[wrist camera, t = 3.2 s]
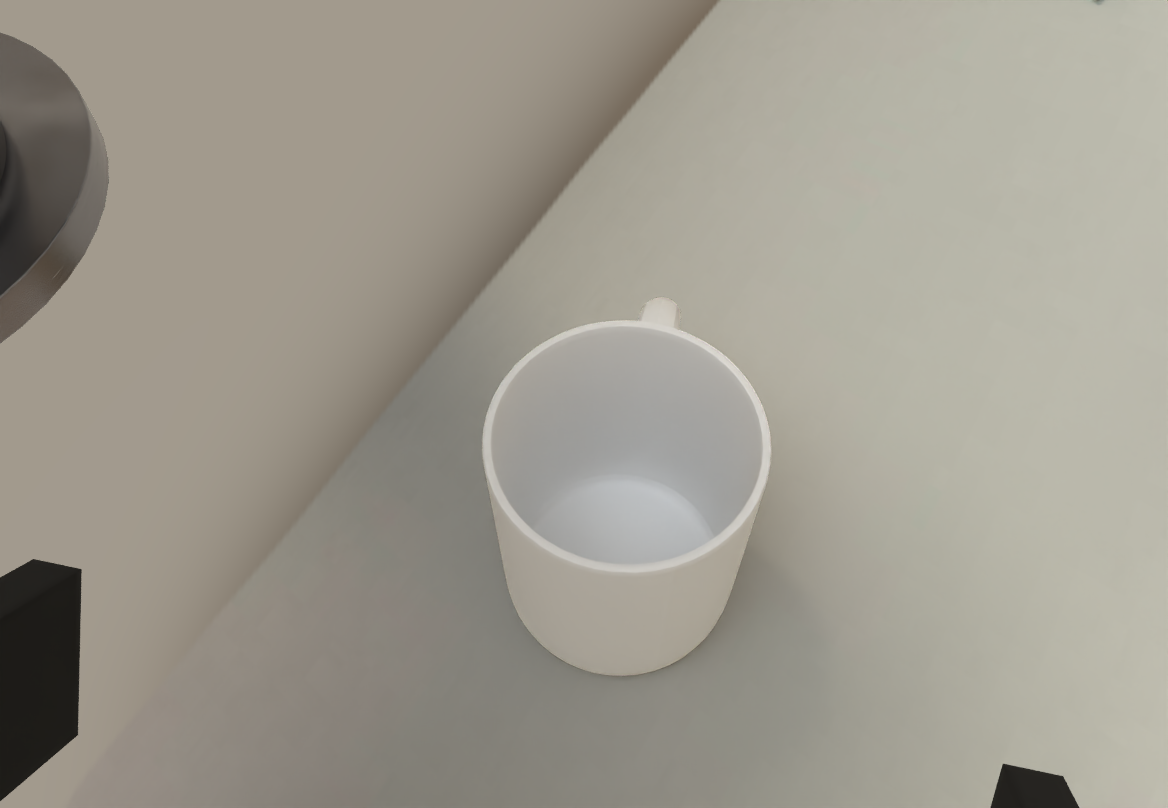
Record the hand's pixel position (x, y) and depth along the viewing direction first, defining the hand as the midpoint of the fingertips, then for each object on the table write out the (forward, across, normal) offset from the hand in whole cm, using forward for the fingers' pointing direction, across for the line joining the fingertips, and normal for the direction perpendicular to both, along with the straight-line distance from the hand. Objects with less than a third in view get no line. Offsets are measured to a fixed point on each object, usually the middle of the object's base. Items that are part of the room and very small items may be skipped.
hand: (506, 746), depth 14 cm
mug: (+24, 0, -6) cm, 25 cm away
